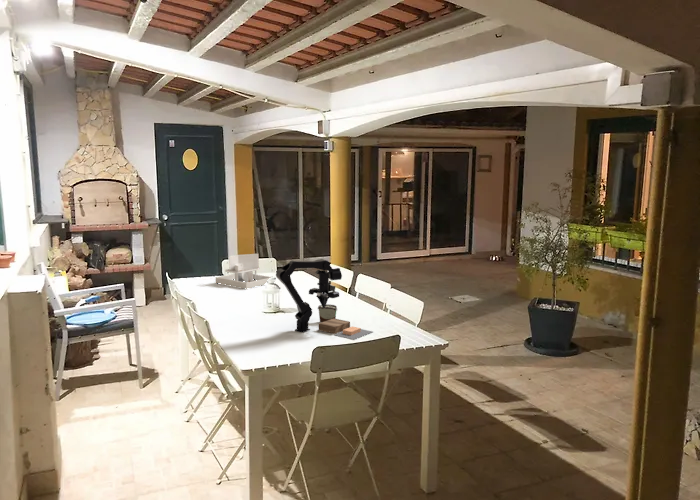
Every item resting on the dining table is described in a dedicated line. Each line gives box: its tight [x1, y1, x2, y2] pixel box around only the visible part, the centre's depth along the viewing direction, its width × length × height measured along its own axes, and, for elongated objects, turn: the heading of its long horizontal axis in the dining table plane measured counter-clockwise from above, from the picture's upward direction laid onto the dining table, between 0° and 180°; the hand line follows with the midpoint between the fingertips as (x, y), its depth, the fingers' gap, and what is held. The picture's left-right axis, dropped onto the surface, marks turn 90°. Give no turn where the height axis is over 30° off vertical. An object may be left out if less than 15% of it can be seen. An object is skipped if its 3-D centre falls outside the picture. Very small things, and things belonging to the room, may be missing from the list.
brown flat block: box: [318, 318, 351, 335], centre depth 321 cm, size 14×12×4 cm
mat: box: [334, 328, 374, 341], centre depth 313 cm, size 18×14×1 cm
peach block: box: [342, 326, 362, 335], centre depth 314 cm, size 9×6×2 cm, turn 143°
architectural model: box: [224, 253, 260, 283], centre depth 447 cm, size 28×21×23 cm
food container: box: [317, 303, 338, 323], centre depth 337 cm, size 12×6×10 cm, turn 72°
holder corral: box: [215, 273, 272, 290], centre depth 448 cm, size 29×36×5 cm
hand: (323, 307), depth 323 cm, fingers closed
